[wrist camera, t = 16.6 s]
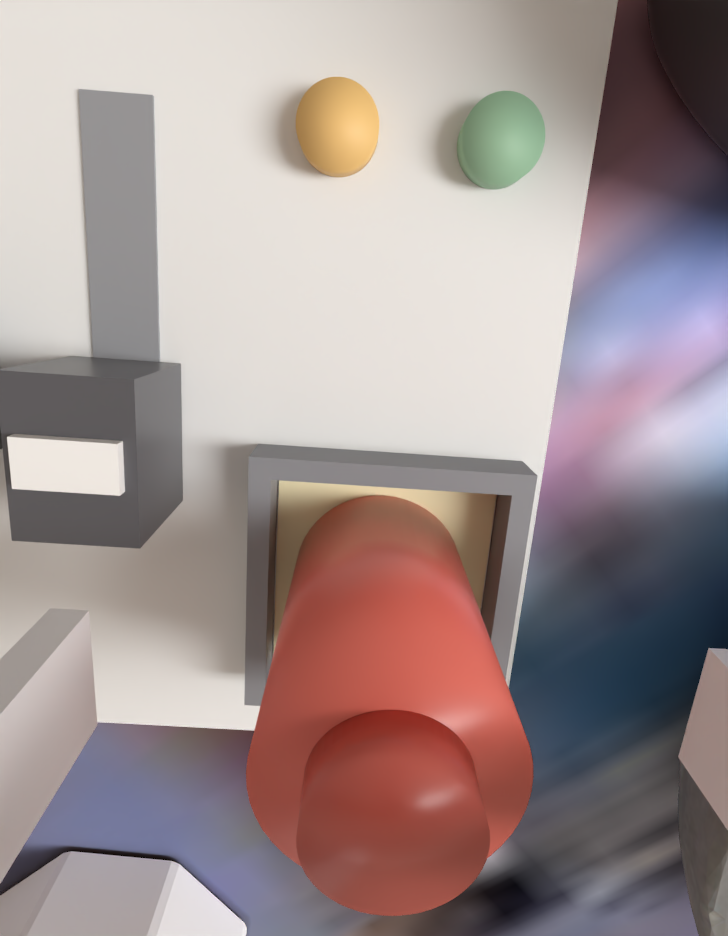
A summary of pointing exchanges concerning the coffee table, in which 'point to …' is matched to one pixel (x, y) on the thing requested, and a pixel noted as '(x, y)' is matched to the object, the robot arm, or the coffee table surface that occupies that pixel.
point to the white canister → (114, 900)
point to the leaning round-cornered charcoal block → (695, 58)
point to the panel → (293, 293)
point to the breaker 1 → (0, 440)
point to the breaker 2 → (91, 449)
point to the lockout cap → (386, 717)
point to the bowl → (703, 857)
